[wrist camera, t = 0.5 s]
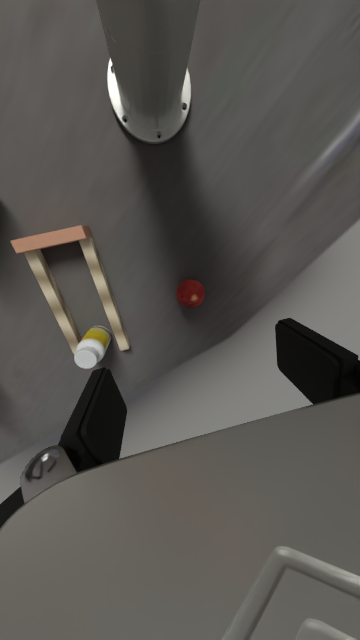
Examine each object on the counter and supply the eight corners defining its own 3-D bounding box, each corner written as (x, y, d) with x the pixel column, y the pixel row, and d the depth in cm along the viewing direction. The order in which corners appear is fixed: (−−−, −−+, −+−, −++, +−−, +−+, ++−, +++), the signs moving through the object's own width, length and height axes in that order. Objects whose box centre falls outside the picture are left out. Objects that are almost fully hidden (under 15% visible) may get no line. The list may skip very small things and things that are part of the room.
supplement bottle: (86, 323, 44) (69, 345, 35) (112, 326, 45) (101, 348, 36) (86, 344, 46) (70, 370, 37) (111, 346, 47) (100, 372, 38)
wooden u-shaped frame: (24, 240, 37) (10, 240, 33) (88, 226, 37) (81, 225, 34) (80, 356, 47) (74, 366, 44) (130, 344, 48) (128, 353, 44)
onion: (193, 305, 46) (200, 318, 38) (170, 295, 44) (173, 307, 37) (205, 282, 44) (215, 292, 37) (181, 271, 42) (187, 278, 35)
